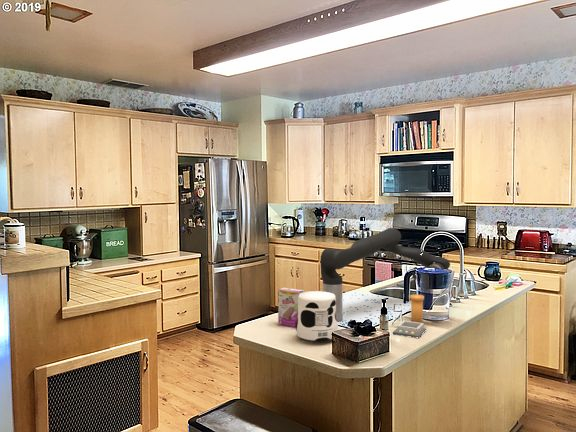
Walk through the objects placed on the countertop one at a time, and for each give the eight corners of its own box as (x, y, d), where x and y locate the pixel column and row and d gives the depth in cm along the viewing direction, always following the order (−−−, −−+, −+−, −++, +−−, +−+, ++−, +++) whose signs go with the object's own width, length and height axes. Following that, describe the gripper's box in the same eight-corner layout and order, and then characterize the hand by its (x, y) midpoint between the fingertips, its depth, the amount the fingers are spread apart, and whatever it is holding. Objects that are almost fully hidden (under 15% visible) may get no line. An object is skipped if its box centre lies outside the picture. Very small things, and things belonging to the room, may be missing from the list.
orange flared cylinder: (408, 326, 209) (408, 296, 208) (411, 323, 214) (412, 293, 214) (421, 328, 206) (422, 298, 205) (425, 324, 211) (425, 295, 211)
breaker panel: (392, 334, 199) (392, 327, 198) (401, 326, 209) (401, 320, 209) (418, 338, 193) (418, 331, 193) (426, 330, 203) (426, 323, 203)
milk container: (312, 329, 206) (312, 288, 205) (346, 337, 195) (346, 294, 194) (287, 339, 193) (287, 296, 191) (321, 348, 182) (321, 302, 180)
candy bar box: (277, 325, 212) (277, 289, 211) (283, 322, 217) (283, 287, 215) (299, 328, 207) (299, 292, 205) (304, 325, 211) (304, 289, 210)
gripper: (418, 264, 237) (409, 269, 223) (447, 266, 230) (440, 272, 216) (418, 278, 238) (409, 285, 224) (447, 281, 230) (440, 288, 217)
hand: (424, 278), depth 220 cm, fingers open, 8 cm apart
